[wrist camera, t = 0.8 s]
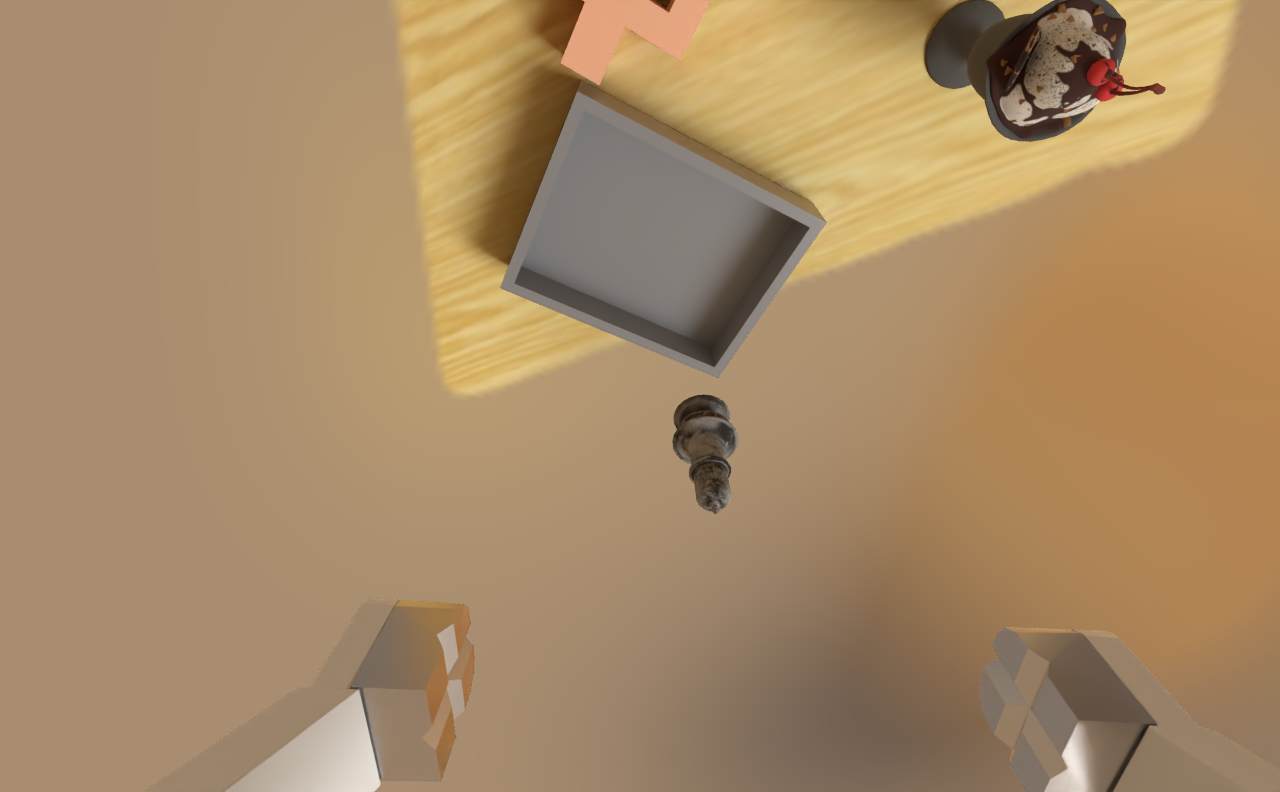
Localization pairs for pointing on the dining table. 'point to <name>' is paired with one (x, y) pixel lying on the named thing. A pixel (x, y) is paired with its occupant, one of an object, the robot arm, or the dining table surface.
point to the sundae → (1033, 62)
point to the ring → (632, 6)
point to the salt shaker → (706, 447)
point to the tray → (656, 235)
